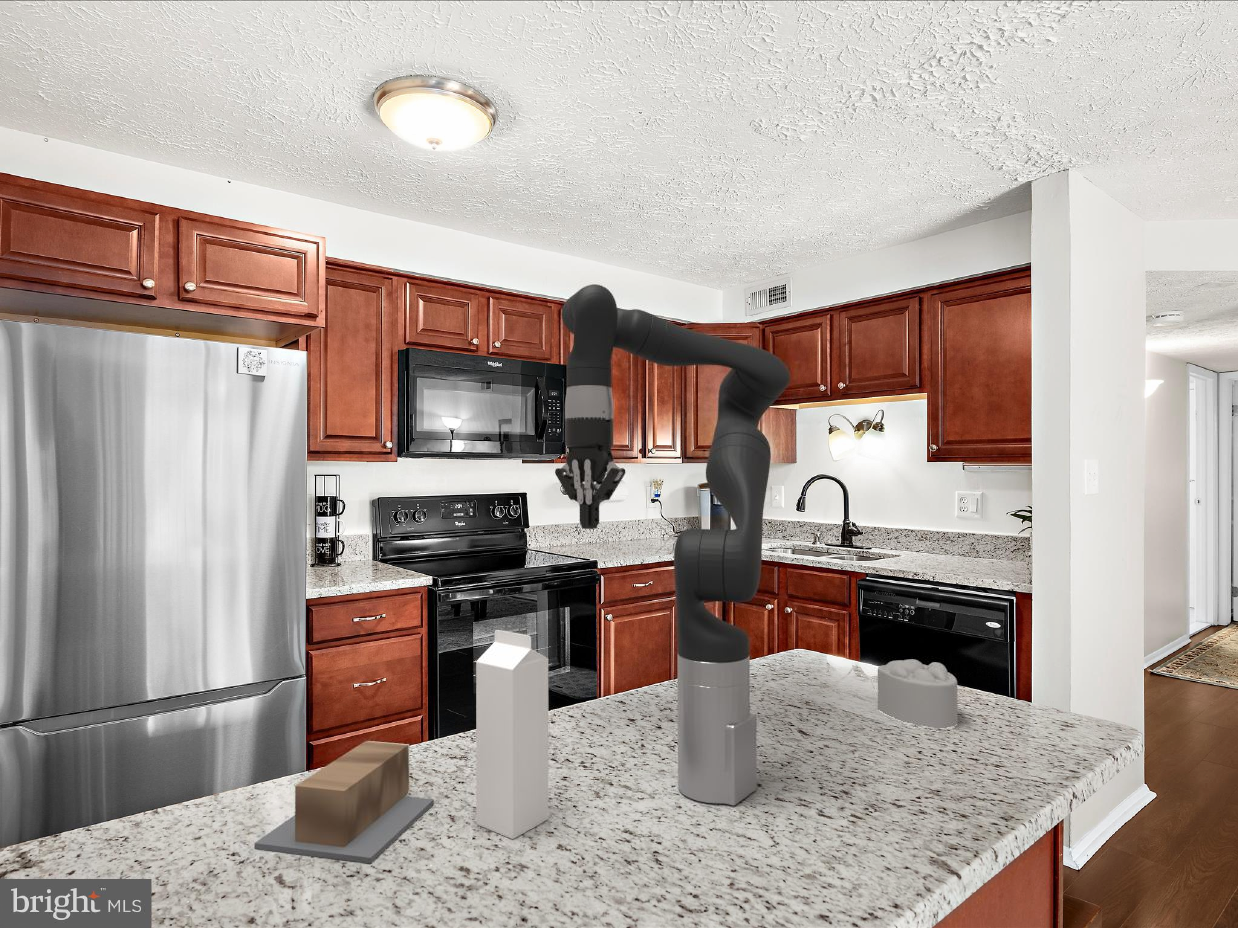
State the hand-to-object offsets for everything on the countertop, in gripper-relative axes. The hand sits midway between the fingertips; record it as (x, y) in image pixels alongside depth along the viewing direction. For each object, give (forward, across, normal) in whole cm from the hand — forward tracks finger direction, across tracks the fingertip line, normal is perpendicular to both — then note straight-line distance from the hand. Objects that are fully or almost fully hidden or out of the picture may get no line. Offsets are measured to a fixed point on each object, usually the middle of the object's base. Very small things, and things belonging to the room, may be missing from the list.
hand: (589, 528), depth 113 cm
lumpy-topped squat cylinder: (+32, +38, +40) cm, 64 cm away
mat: (+32, -3, -39) cm, 51 cm away
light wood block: (+28, -7, -32) cm, 43 cm away
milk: (+32, +11, -27) cm, 43 cm away
